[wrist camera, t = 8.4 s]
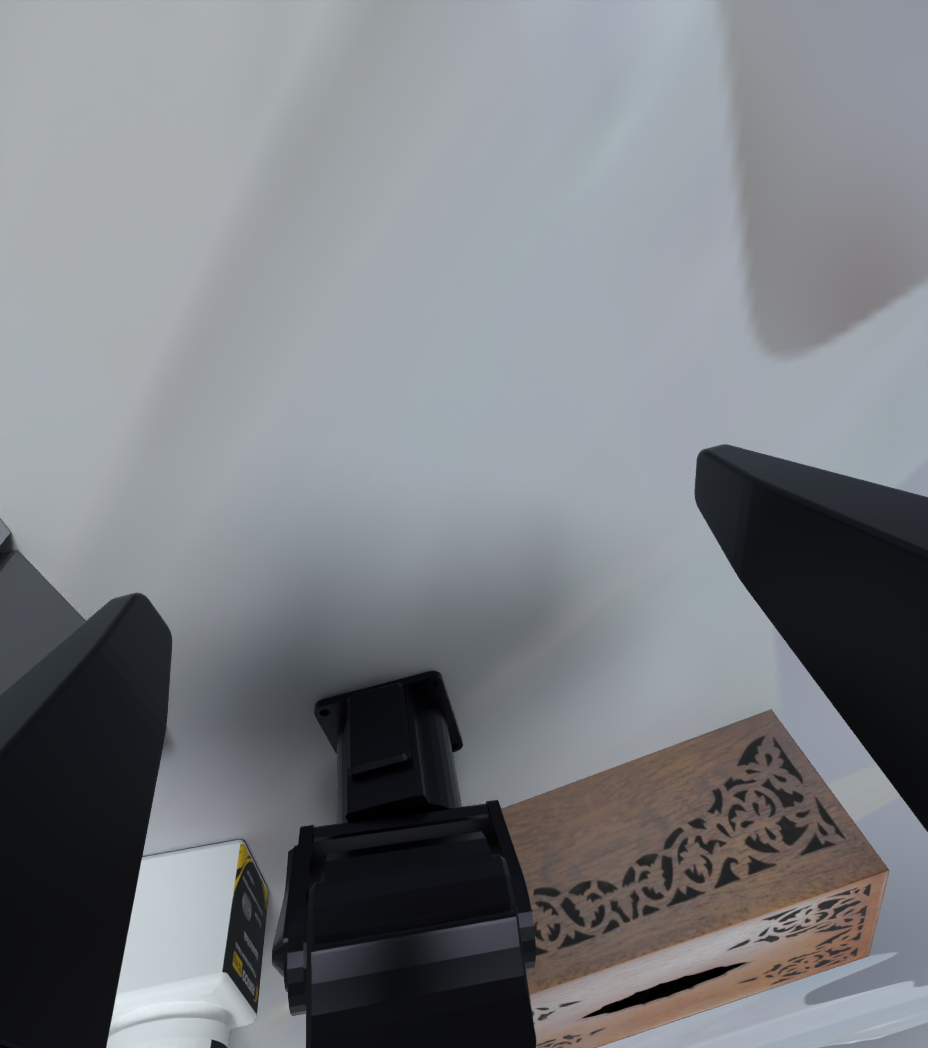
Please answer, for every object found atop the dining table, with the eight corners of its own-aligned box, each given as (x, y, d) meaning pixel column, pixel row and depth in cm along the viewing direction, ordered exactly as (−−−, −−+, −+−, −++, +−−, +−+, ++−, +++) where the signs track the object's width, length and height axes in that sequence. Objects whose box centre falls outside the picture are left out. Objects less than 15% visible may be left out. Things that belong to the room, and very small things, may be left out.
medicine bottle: (270, 889, 38) (245, 1148, 29) (157, 911, 38) (93, 1185, 28) (244, 836, 34) (205, 1117, 25) (117, 858, 33) (25, 1159, 24)
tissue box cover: (768, 705, 37) (889, 870, 29) (774, 806, 45) (869, 955, 37) (398, 842, 38) (413, 1035, 30) (471, 915, 47) (498, 1080, 39)
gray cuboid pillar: (144, 678, 26) (108, 780, 22) (40, 711, 26) (-15, 819, 22) (19, 547, 21) (-56, 646, 17) (-108, 588, 21) (-212, 696, 17)
